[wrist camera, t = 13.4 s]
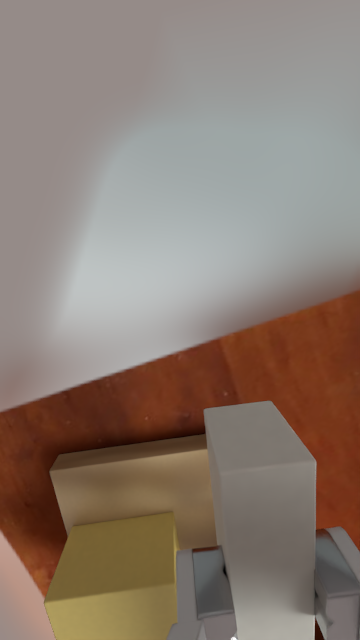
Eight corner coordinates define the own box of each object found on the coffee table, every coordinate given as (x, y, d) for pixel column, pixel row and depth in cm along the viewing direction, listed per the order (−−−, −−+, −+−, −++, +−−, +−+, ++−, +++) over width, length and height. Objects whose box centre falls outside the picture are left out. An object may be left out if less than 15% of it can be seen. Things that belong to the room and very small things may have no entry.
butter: (71, 525, 17) (42, 603, 13) (173, 511, 17) (175, 583, 13) (87, 580, 18) (64, 667, 14) (182, 566, 18) (186, 648, 14)
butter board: (58, 454, 17) (48, 471, 16) (242, 428, 18) (248, 443, 16) (98, 599, 20) (92, 625, 19) (254, 576, 21) (261, 600, 19)
